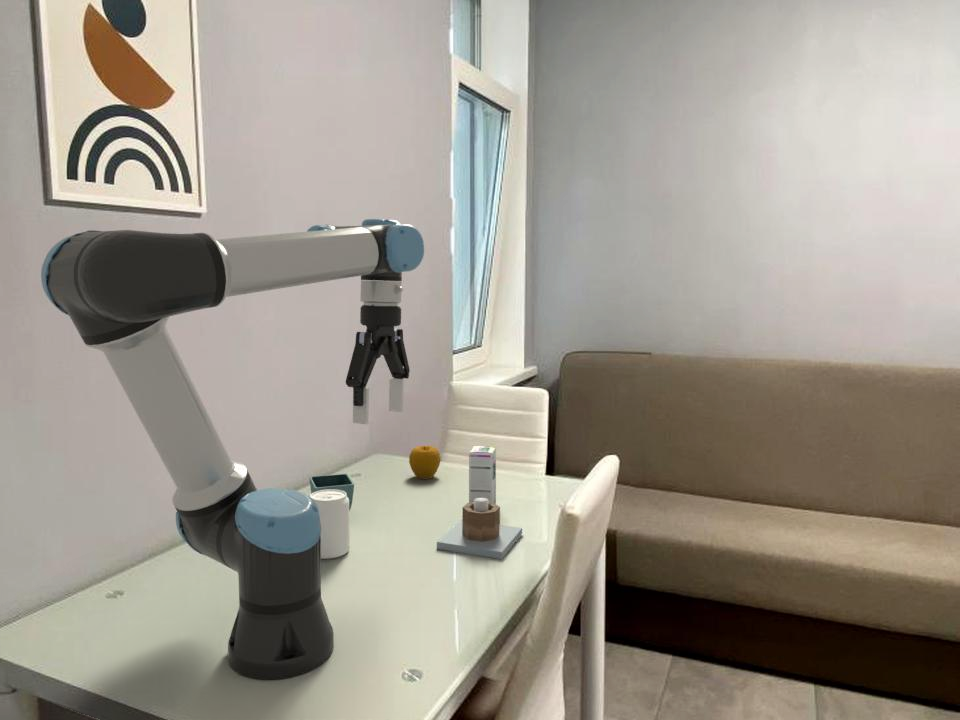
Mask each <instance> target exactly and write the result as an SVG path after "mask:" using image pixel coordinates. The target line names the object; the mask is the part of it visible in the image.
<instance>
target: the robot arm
mask: <svg viewBox="0 0 960 720" xmlns="http://www.w3.org/2000/svg"><path fill="white" fill-rule="evenodd" d="M424 243H425V242H424V239H423V236H422V234H421V232H420V231H419V229H417V228H416V227H415V226H413V225H412V224H406V223H405V224H403V223H401V222H399V221H398V220H394V219H384V218H382V219H381V218H366V219H364V220H363V221H362V222H361V225H343V226H340V225H339V226H336V225H330V224H323V225H322V224H314V225H312V226H311V227H309V228H308V229H307V230H306V231H298V232H288V233H278V234H277V233H276V234H266V235H265V234H264V235H253V236H243V237H242V236H241V237H230V238H218V239H215V238H214V236H212V235H210V234H208V233H206V232H196V233H195V232H194V233H170V232H169V233H167V232H165V233H164V232H156V231H144V230H142V231H141V230H133V229H132V230H131V229H120V230H119V229H118V230H104V231H103V230H102V231H101V230H94V229H93V230H86V231H83V232H78V233H75V234H72V235H70V236H67V237H65V238H63V239H61V240H59V241H58V242H57V243H55V244H54V245H53V246H52V247H51V248H50V250H49V251H48V252H47V254H46V255H45V258H44V259H43V263H42V265H41V271H40V278H41V279H40V281H41V286H42V289H43V292H44V293H45V295H46V297H47V299H48V300H49V301H50V303H51V304H53V306H54V307H56V308H57V309H58V310H59V311H60V312H61V313H63V314H65V315H67V316H69V318H70V320H71V321H72V323H73V325H74V327H75V328H76V331H77V333H78V335H79V336H80V338H81V339H82V341H83V343H84V345H85V346H86V347H88V348H91V349H94V350H95V349H96V350H98V351H101V352H102V353H103V354H104V355H105V356H104V357H105V358H106V359H107V361H108V363H109V365H110V367H111V369H112V370H113V372H114V374H115V376H116V379H117V381H118V382H119V384H120V385H121V387H122V389H123V391H124V394H126V396H127V398H128V400H129V402H130V403H131V406H132V408H133V409H134V411H135V413H136V415H137V417H138V419H139V421H140V422H141V424H142V426H143V427H144V430H145V432H146V433H147V435H148V437H149V439H150V441H151V443H152V444H153V446H154V448H155V450H156V453H157V454H158V456H159V458H160V459H161V461H162V463H163V466H164V467H165V468H166V470H167V472H168V474H169V476H170V478H171V479H172V481H173V483H174V485H175V488H176V489H175V491H174V493H173V495H172V504H173V506H174V508H175V510H176V512H175V523H176V528H177V531H178V533H179V535H180V537H181V538H182V540H183V541H184V543H186V544H187V545H188V547H190V548H191V549H192V550H193V551H195V552H197V553H198V554H200V555H203V556H206V557H208V558H210V559H211V560H214V561H216V563H217V562H218V563H220V564H221V565H223V566H225V567H227V568H229V569H231V570H232V571H234V572H236V573H237V576H238V599H239V600H238V601H239V605H238V609H237V612H236V617H235V619H234V623H233V626H232V630H231V632H230V635H229V639H228V643H227V655H228V656H227V657H228V658H227V659H228V664H229V666H230V668H231V669H232V670H234V672H237V673H238V674H240V675H242V676H245V677H247V678H253V679H257V680H278V679H286V678H287V679H288V678H291V677H295V676H299V675H301V674H304V673H307V672H309V671H312V670H314V669H316V668H317V667H319V666H321V665H322V664H323V663H324V662H326V661H327V660H328V658H329V657H330V656H331V655H332V653H333V651H334V648H335V645H334V644H335V641H334V640H335V639H334V628H333V626H332V624H331V622H330V619H329V616H328V613H327V610H326V607H325V604H324V601H323V599H322V574H321V573H322V569H321V568H322V567H321V566H322V565H321V564H322V563H321V562H322V561H321V560H322V559H321V522H320V516H319V509H318V506H317V504H316V503H315V501H314V500H313V499H312V498H311V497H310V495H307V494H306V493H303V492H301V491H298V490H295V489H284V488H279V487H278V488H277V487H273V488H272V487H271V488H263V489H257V486H256V485H255V483H254V481H253V479H252V477H251V475H250V472H249V471H248V468H247V467H246V466H245V464H244V463H242V462H239V461H234V460H231V457H230V456H229V453H228V451H227V449H226V447H225V446H224V443H223V441H222V439H221V437H220V435H219V433H218V430H217V429H216V427H215V425H214V423H213V421H212V419H211V416H210V414H209V413H208V411H207V408H206V406H205V403H204V402H203V400H202V399H201V397H200V394H199V392H198V389H196V386H195V384H194V383H193V382H194V381H193V379H192V377H191V376H190V374H189V372H188V370H187V367H186V365H185V364H184V362H183V359H182V358H181V355H180V354H179V352H178V349H177V348H176V345H175V343H174V341H173V340H172V338H171V337H172V336H171V335H170V333H169V330H168V329H167V327H166V326H167V322H168V320H169V318H170V317H173V316H178V315H180V314H185V313H189V312H195V311H198V310H199V311H200V310H205V309H210V308H215V307H216V308H217V307H218V306H220V305H222V304H223V302H224V301H225V300H226V298H228V297H229V298H230V297H234V296H241V295H247V294H254V293H260V292H266V291H272V290H279V289H285V288H292V287H297V286H298V287H299V286H304V285H311V284H316V283H317V284H318V283H324V282H331V281H335V280H343V279H349V278H355V277H360V302H361V303H363V305H361V306H360V310H359V311H360V312H359V315H360V316H359V317H360V320H359V321H360V322H359V323H360V324H361V325H362V326H365V327H366V331H357V332H356V334H355V343H354V344H355V345H354V348H353V351H352V355H351V359H350V363H349V367H348V371H347V374H346V378H345V385H347V387H348V388H352V389H353V391H352V392H353V394H352V399H353V400H352V406H353V407H352V410H353V411H352V423H353V424H358V425H359V424H360V425H368V424H369V404H370V403H369V399H370V398H369V395H370V393H369V392H370V388H369V387H367V385H368V382H369V379H370V377H371V375H372V372H373V370H374V368H375V365H376V363H377V360H378V359H380V358H381V356H383V358H384V360H385V363H386V365H387V368H388V370H389V372H390V374H391V377H390V378H389V381H388V383H389V385H388V386H389V389H388V391H389V392H388V393H389V395H388V411H389V412H394V413H395V412H396V413H397V412H398V413H403V412H404V379H409V378H410V366H409V361H408V356H407V353H406V352H407V351H406V347H405V340H404V330H403V329H402V328H395V327H400V326H401V324H402V307H401V306H400V305H399V304H400V303H401V302H402V292H403V291H404V288H403V287H402V281H403V279H402V278H403V276H402V275H403V272H412V271H415V270H416V269H417V268H418V267H419V266H420V265H421V263H422V261H423V259H424V255H425V244H424Z"/></svg>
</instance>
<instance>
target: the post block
mask: <svg viewBox="0 0 960 720" xmlns="http://www.w3.org/2000/svg"><path fill="white" fill-rule="evenodd" d="M474 510H476V511H487V510H488V499H486V498H476V499H474ZM521 534H522V535H523V527H520V526H519V527H518V526H511V525H504V524H500V528H499V535H498V537H497V538H496V539H495V540H489V541H483V542H480V541H474V540H468V539H467V538H466V537H464V536H463V535H462V519H460V520H459V521H458V522H457V523H456V524H455V525H454V526H452V527H451V528H450V529H449V530H448V531H447V532H446V533H445V534H443V536H441V537H440V539H438V540H437V541H436V550H437V549H438V550H443V551H448V552H455V553H460V554H466V555H473V556H479V557H487V558H492V559H498V560H503V558H504V557H505V556H506V555H507V554H508V552H509V551H510V550H511V549H512V548H513V546H514V545H515V544H516V543H517V541H519V539H520V538H521V537H522V535H521ZM520 536H521V537H520ZM519 537H520V538H519ZM518 538H519V539H518ZM515 542H516V543H515ZM514 543H515V544H514Z"/></svg>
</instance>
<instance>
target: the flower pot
mask: <svg viewBox="0 0 960 720" xmlns="http://www.w3.org/2000/svg"><path fill="white" fill-rule="evenodd" d="M309 485H310V495H311V494H312V493H313V492H316V491H320V490H326V489H336V490H342V491H344V492H346V494H347V497H348V499H349V512H351V509H352V504H353V499H354V492H355V491H354V490H355V483H354V482H353V480H352V479H351V477H350V475H349V474H348V473H337V474H328V475H315V476H314V475H313V476H309Z"/></svg>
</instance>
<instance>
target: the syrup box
mask: <svg viewBox="0 0 960 720" xmlns="http://www.w3.org/2000/svg"><path fill="white" fill-rule="evenodd" d="M496 459H497V448H496V447H494V446H487V445H475V446H474V445H473V447H472V448H471V449H470V451H469V452H468V503H469V502H474V499H476V498H486V499H488V502H492V503H495V504H496V505H497V499H496V497H497V494H496V493H497V490H496V489H497V460H496Z"/></svg>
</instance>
